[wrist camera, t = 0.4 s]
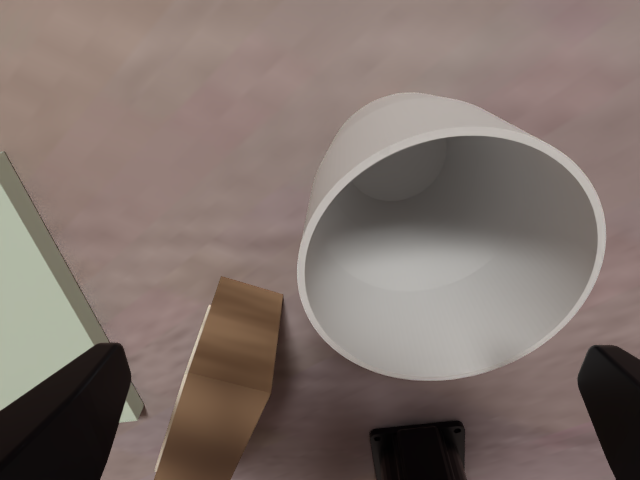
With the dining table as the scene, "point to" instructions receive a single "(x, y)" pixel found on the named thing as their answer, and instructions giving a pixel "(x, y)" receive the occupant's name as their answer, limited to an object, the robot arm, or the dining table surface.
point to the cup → (444, 240)
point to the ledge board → (39, 301)
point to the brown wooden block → (223, 385)
